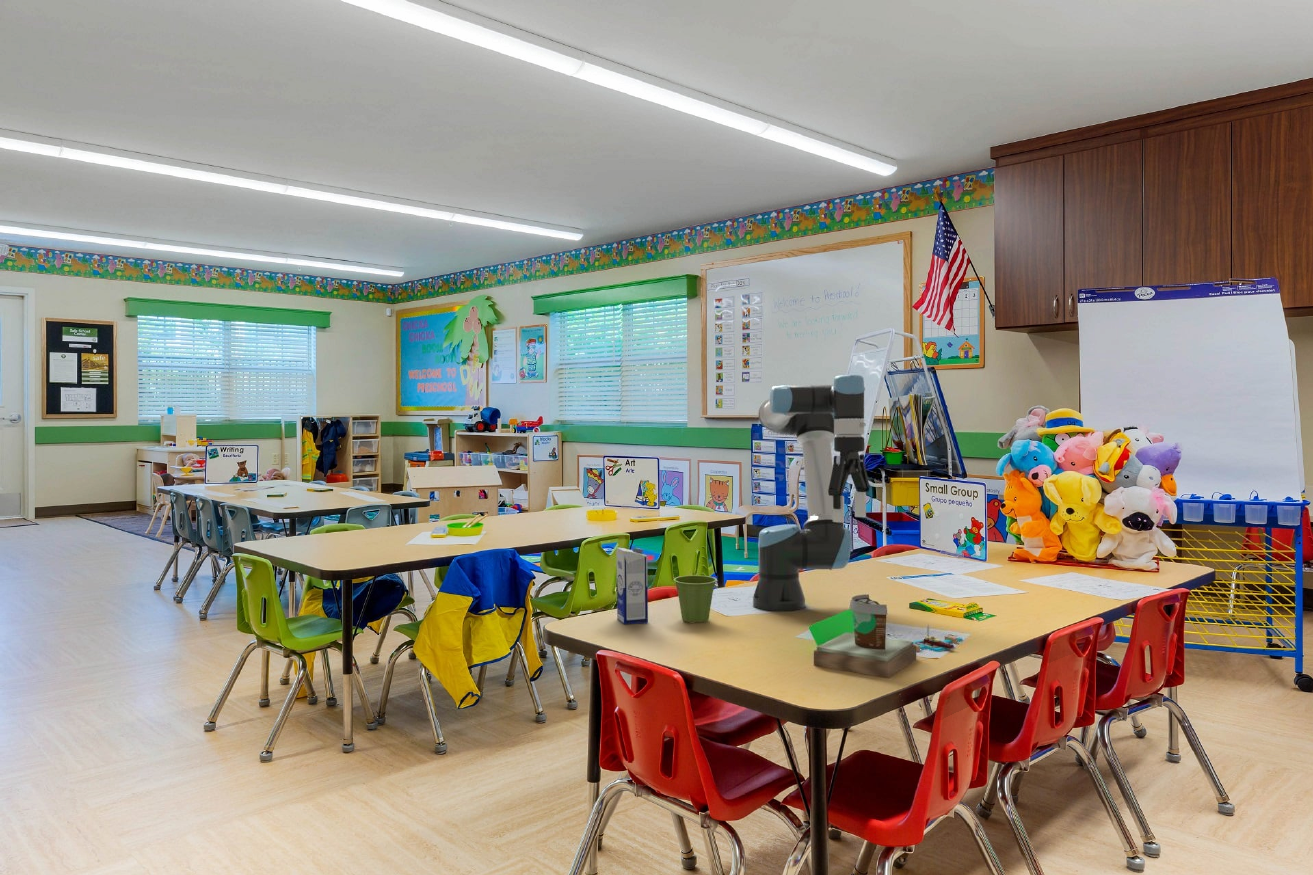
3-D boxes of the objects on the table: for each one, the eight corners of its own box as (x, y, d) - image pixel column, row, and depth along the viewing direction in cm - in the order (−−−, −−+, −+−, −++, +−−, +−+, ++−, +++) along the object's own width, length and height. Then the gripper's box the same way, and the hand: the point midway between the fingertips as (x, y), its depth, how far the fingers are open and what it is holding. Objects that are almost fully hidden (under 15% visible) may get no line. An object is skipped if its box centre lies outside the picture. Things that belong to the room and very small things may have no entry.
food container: (842, 637, 197) (841, 594, 197) (868, 637, 197) (868, 593, 197) (859, 652, 185) (859, 605, 184) (887, 651, 185) (887, 605, 185)
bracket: (835, 649, 218) (822, 622, 220) (866, 634, 213) (852, 607, 215) (797, 666, 202) (784, 638, 204) (830, 651, 197) (815, 621, 199)
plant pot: (669, 624, 229) (668, 582, 229) (679, 614, 241) (679, 574, 241) (712, 626, 226) (712, 583, 226) (721, 616, 238) (720, 576, 237)
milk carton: (617, 618, 236) (616, 546, 236) (640, 616, 238) (639, 545, 238) (624, 624, 229) (623, 549, 229) (648, 622, 231) (647, 548, 231)
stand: (813, 665, 189) (813, 647, 189) (845, 648, 203) (845, 631, 203) (888, 677, 179) (888, 658, 179) (916, 659, 193) (916, 641, 193)
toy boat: (979, 647, 205) (947, 638, 213) (979, 624, 205) (947, 617, 213) (921, 659, 195) (890, 650, 203) (921, 636, 195) (890, 627, 203)
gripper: (842, 437, 206) (843, 525, 206) (881, 435, 226) (882, 515, 226) (813, 436, 210) (814, 523, 210) (855, 435, 230) (855, 514, 231)
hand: (849, 519), depth 218 cm, fingers open, 13 cm apart
